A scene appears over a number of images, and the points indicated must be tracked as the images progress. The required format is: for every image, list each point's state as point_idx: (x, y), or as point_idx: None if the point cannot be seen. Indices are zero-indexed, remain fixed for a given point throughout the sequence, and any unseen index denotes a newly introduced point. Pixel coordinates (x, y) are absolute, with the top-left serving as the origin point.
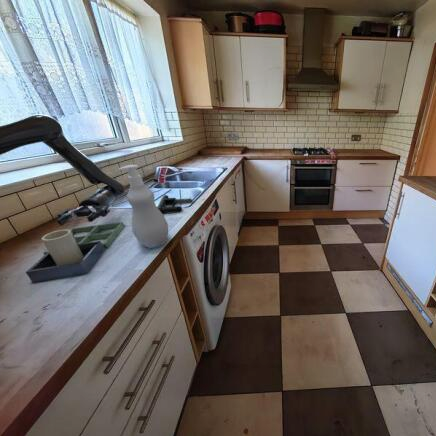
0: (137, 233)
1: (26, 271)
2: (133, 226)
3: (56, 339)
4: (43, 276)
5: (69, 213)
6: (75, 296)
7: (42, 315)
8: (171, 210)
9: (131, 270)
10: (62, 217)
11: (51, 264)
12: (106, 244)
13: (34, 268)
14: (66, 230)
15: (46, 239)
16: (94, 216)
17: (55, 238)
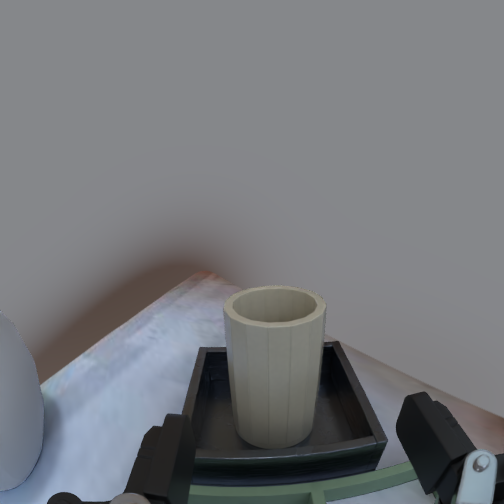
0: (27, 350)
1: (337, 341)
2: (16, 341)
3: (198, 294)
4: None
5: (458, 497)
6: (202, 332)
7: None
8: None
9: (103, 361)
10: (433, 424)
11: (348, 421)
12: None
13: (336, 356)
14: (253, 320)
15: (288, 288)
16: (142, 452)
17: (257, 289)
